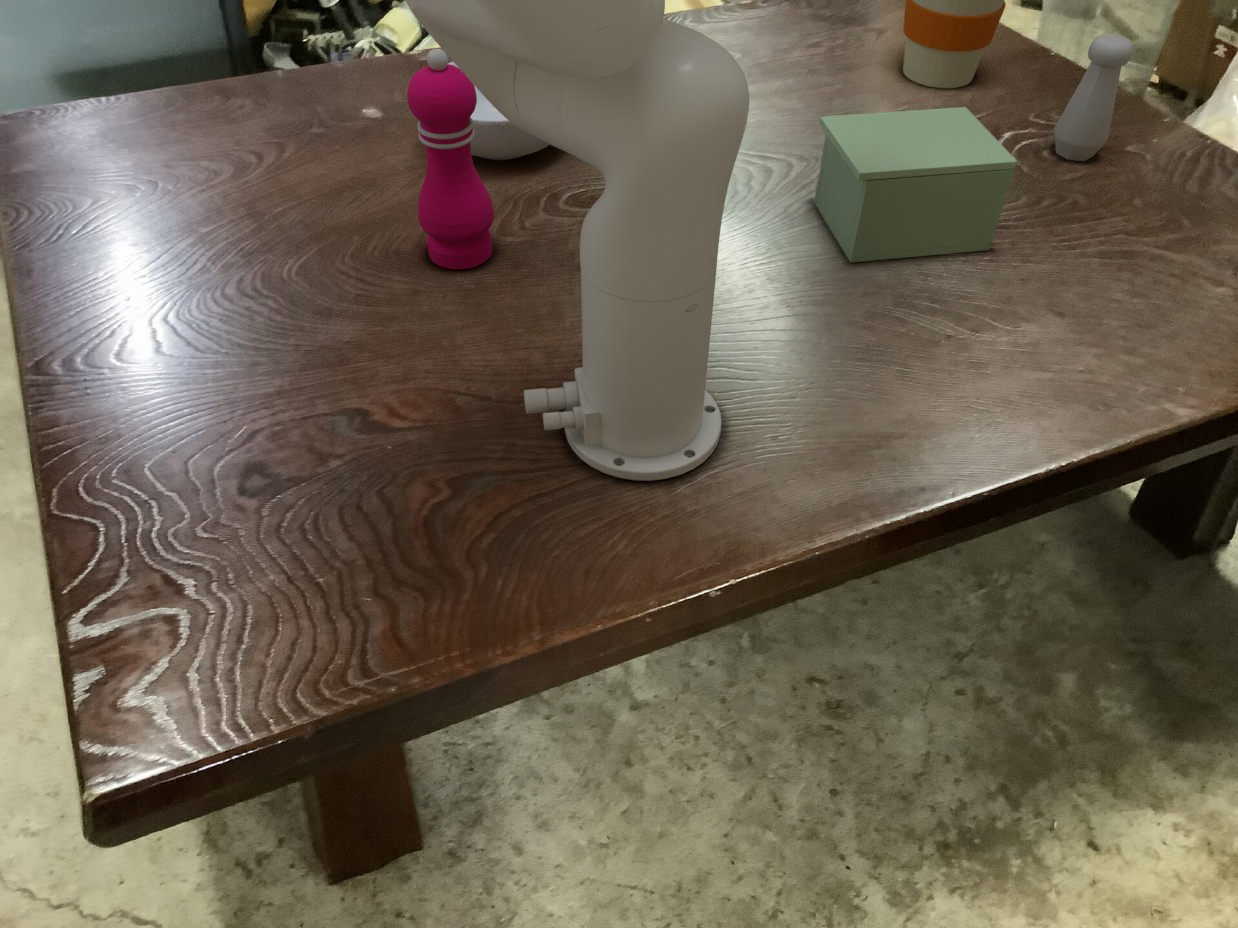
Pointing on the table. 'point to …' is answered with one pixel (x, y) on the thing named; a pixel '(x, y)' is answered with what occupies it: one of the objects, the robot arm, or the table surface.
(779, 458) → the table surface
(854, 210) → the chest
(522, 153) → the cereal bowl
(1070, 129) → the salt shaker
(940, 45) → the reusable coffee cup
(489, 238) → the pepper mill
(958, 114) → the lid
